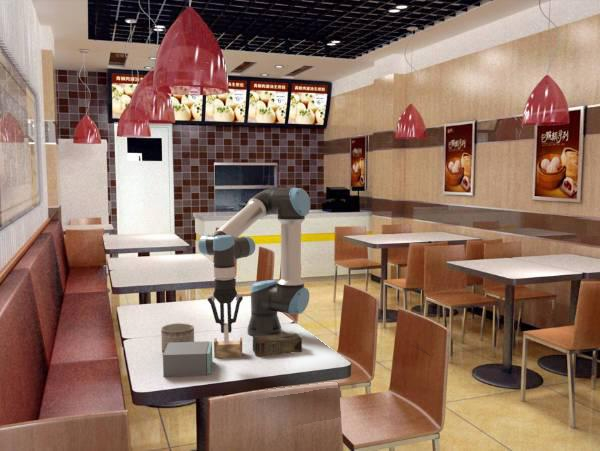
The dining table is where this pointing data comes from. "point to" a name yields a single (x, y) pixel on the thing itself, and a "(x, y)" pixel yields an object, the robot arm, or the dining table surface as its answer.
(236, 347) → the oak block
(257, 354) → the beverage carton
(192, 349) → the housing
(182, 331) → the planter
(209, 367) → the tray
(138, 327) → the dining table surface
